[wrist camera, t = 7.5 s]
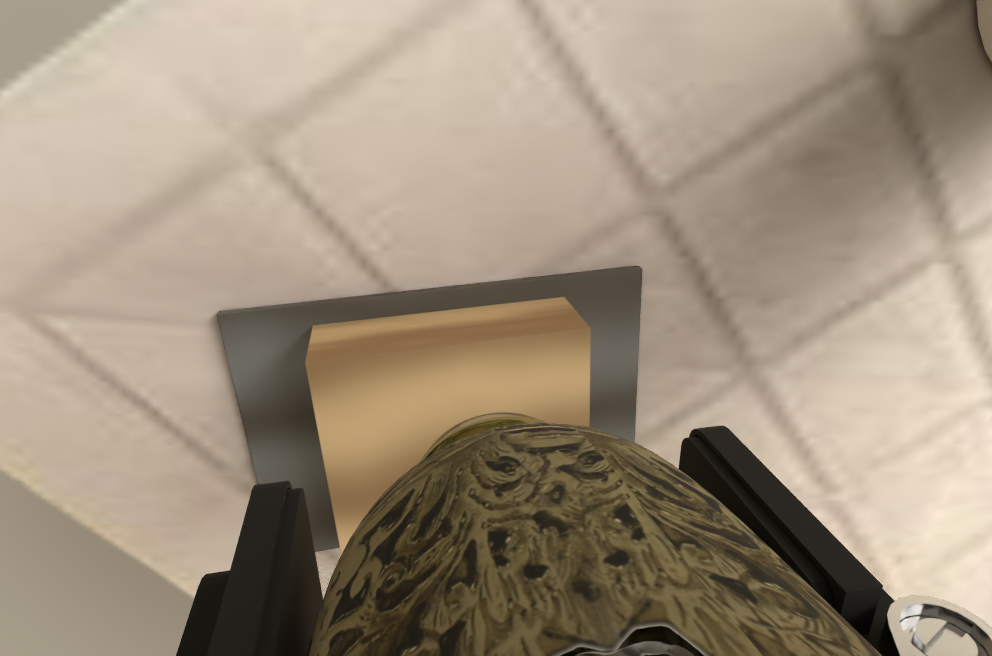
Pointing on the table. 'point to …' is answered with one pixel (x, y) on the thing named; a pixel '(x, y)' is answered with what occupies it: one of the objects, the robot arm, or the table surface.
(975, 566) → the table surface
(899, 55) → the table surface
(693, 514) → the cup
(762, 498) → the robot arm
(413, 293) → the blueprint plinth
